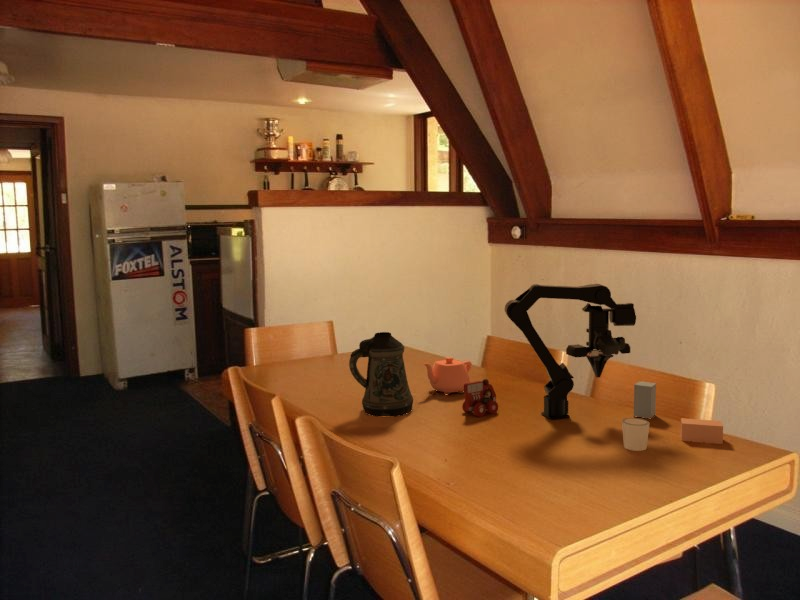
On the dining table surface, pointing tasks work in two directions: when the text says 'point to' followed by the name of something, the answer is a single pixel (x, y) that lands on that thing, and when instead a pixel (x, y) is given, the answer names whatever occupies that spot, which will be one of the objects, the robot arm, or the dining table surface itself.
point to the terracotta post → (702, 431)
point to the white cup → (635, 433)
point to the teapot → (448, 375)
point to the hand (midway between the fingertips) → (598, 377)
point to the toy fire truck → (479, 398)
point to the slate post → (644, 399)
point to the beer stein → (383, 376)
